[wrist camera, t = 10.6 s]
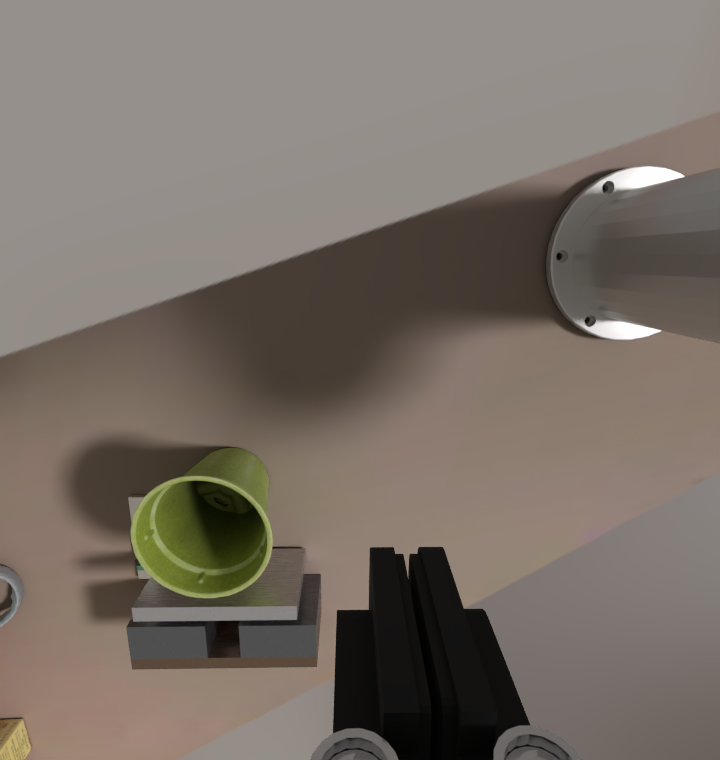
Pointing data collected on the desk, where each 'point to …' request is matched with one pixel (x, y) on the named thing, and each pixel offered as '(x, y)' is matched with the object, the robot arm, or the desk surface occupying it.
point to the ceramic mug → (17, 592)
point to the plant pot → (207, 527)
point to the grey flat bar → (232, 596)
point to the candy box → (13, 740)
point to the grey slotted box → (228, 636)
